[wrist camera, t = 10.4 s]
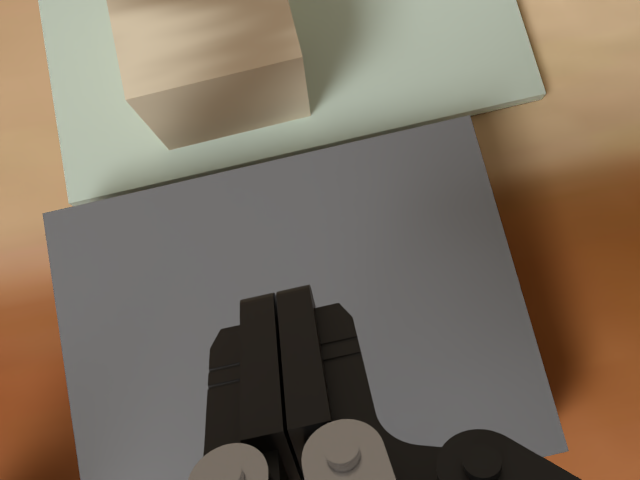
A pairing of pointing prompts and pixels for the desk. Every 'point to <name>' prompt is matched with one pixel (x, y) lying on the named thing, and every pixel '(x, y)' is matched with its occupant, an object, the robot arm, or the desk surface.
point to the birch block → (209, 66)
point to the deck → (294, 271)
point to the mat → (321, 78)
